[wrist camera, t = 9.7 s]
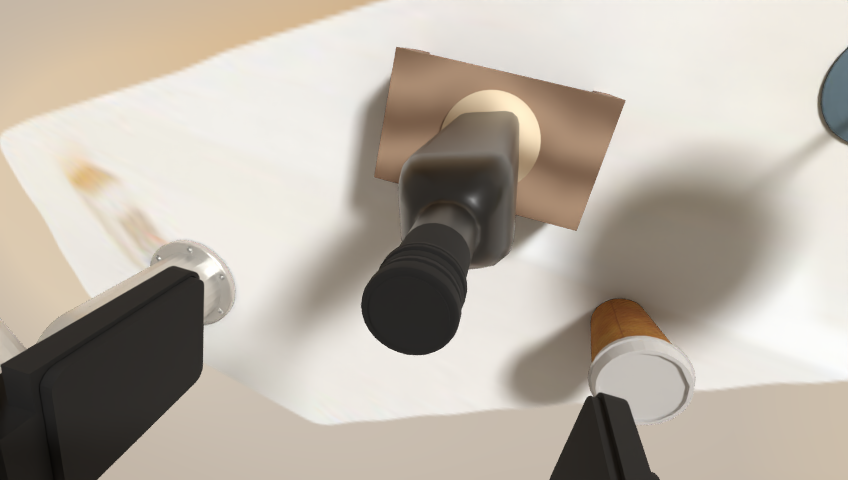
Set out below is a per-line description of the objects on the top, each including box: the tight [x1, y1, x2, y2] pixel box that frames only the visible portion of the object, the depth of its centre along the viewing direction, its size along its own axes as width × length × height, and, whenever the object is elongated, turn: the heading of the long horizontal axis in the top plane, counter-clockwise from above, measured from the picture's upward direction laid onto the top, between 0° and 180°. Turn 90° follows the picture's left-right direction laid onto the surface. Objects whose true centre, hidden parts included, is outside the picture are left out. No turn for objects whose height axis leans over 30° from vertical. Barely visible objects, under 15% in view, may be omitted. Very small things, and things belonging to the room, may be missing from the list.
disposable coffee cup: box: [588, 299, 695, 425], centre depth 48 cm, size 10×10×12 cm
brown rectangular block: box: [374, 47, 625, 231], centre depth 44 cm, size 12×20×8 cm, turn 78°
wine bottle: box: [361, 111, 519, 355], centre depth 27 cm, size 6×6×30 cm
